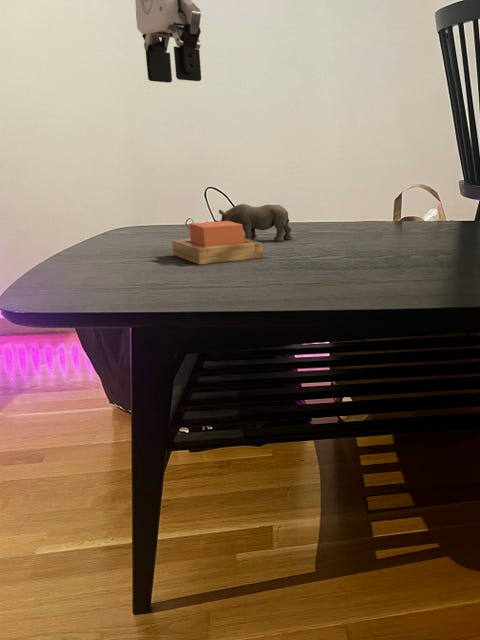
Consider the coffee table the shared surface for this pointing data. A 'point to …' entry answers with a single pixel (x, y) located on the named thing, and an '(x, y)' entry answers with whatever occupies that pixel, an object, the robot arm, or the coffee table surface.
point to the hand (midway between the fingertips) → (174, 81)
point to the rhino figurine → (259, 219)
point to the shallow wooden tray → (217, 251)
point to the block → (216, 233)
